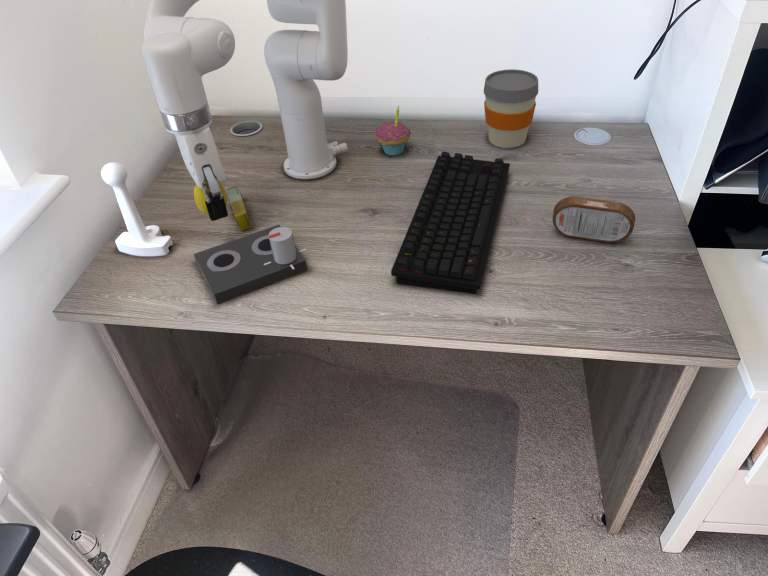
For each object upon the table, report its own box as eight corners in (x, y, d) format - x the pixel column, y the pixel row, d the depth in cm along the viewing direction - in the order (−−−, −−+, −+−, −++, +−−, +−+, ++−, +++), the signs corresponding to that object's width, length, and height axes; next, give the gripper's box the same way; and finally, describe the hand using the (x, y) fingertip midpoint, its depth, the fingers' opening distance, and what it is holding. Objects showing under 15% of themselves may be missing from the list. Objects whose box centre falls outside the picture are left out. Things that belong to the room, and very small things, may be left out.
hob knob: (291, 247, 120) (286, 222, 116) (300, 259, 117) (295, 234, 113) (270, 255, 119) (264, 230, 115) (278, 267, 116) (273, 242, 112)
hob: (287, 231, 128) (285, 221, 127) (316, 271, 118) (314, 260, 116) (196, 263, 122) (193, 253, 120) (219, 308, 112) (215, 297, 110)
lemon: (224, 225, 109) (213, 186, 104) (195, 223, 110) (183, 185, 105) (236, 207, 113) (225, 169, 108) (208, 206, 114) (196, 168, 109)
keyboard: (480, 297, 110) (481, 276, 106) (391, 285, 113) (389, 264, 110) (509, 174, 140) (511, 154, 136) (438, 168, 144) (438, 148, 140)
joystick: (115, 253, 127) (76, 168, 113) (134, 231, 132) (99, 147, 119) (163, 258, 124) (130, 171, 111) (181, 236, 130) (151, 150, 116)
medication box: (232, 203, 138) (226, 188, 135) (243, 199, 138) (238, 184, 136) (240, 231, 129) (234, 216, 126) (252, 227, 129) (246, 212, 127)
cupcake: (416, 145, 152) (414, 99, 144) (402, 162, 147) (400, 115, 139) (384, 140, 155) (381, 94, 147) (370, 156, 150) (365, 110, 142)
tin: (630, 238, 119) (639, 202, 114) (629, 248, 117) (639, 211, 112) (551, 227, 124) (556, 191, 118) (549, 236, 121) (554, 200, 116)
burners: (277, 231, 124) (277, 231, 124) (289, 248, 120) (289, 247, 120) (203, 257, 119) (202, 257, 119) (212, 275, 115) (212, 275, 115)
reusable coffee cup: (503, 122, 158) (507, 64, 149) (543, 137, 151) (550, 78, 141) (470, 140, 152) (472, 81, 143) (511, 157, 145) (516, 96, 135)
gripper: (225, 129, 94) (249, 226, 106) (195, 91, 106) (220, 182, 118) (177, 143, 92) (207, 240, 104) (151, 102, 104) (181, 194, 116)
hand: (214, 208), depth 111 cm, fingers closed on lemon, 5 cm apart
